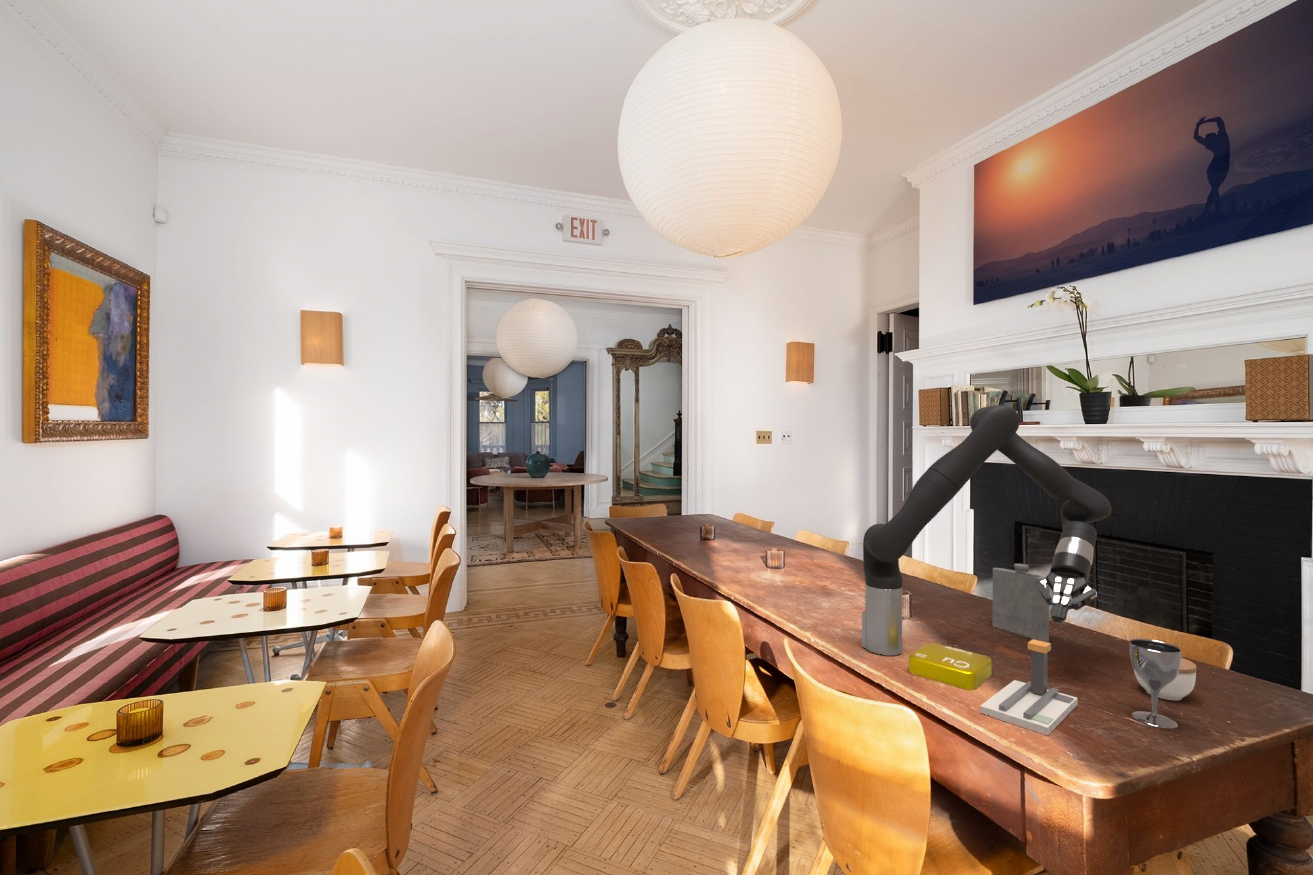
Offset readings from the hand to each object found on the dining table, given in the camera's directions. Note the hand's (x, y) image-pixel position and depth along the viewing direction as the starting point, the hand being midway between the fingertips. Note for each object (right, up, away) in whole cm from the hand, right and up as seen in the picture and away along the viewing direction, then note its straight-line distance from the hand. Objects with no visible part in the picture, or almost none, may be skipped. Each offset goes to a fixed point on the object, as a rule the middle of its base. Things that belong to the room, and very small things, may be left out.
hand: (1057, 620), depth 135 cm
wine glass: (+8, -15, -17) cm, 24 cm away
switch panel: (-14, -15, -12) cm, 24 cm away
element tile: (-21, -15, +7) cm, 27 cm away
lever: (-10, -13, -8) cm, 18 cm away
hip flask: (+14, -15, +36) cm, 41 cm away
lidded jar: (+20, -15, -5) cm, 26 cm away
